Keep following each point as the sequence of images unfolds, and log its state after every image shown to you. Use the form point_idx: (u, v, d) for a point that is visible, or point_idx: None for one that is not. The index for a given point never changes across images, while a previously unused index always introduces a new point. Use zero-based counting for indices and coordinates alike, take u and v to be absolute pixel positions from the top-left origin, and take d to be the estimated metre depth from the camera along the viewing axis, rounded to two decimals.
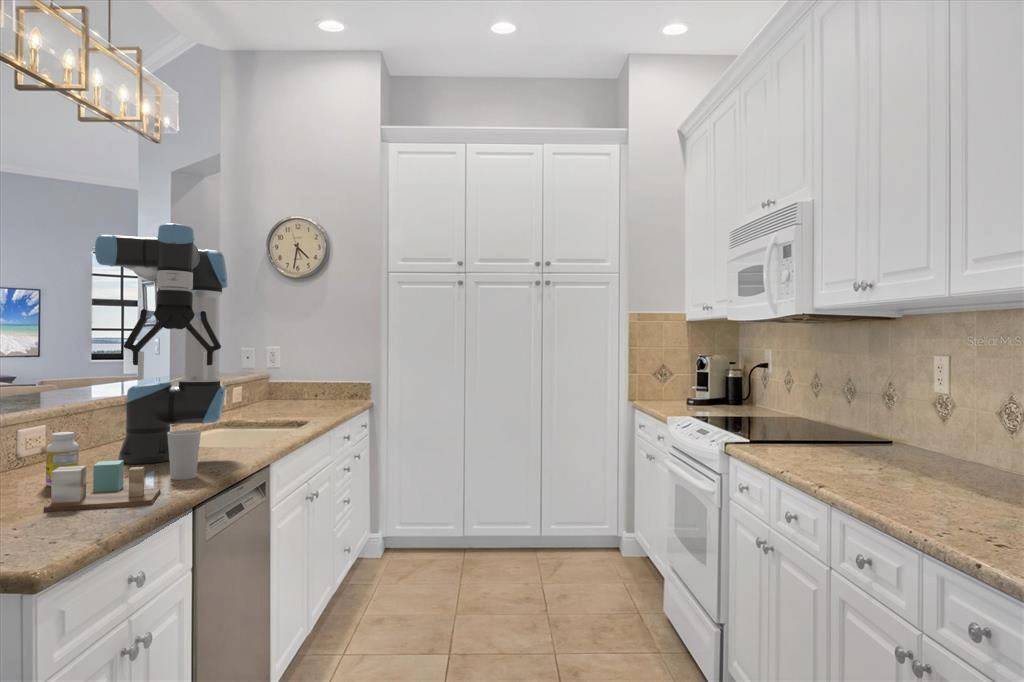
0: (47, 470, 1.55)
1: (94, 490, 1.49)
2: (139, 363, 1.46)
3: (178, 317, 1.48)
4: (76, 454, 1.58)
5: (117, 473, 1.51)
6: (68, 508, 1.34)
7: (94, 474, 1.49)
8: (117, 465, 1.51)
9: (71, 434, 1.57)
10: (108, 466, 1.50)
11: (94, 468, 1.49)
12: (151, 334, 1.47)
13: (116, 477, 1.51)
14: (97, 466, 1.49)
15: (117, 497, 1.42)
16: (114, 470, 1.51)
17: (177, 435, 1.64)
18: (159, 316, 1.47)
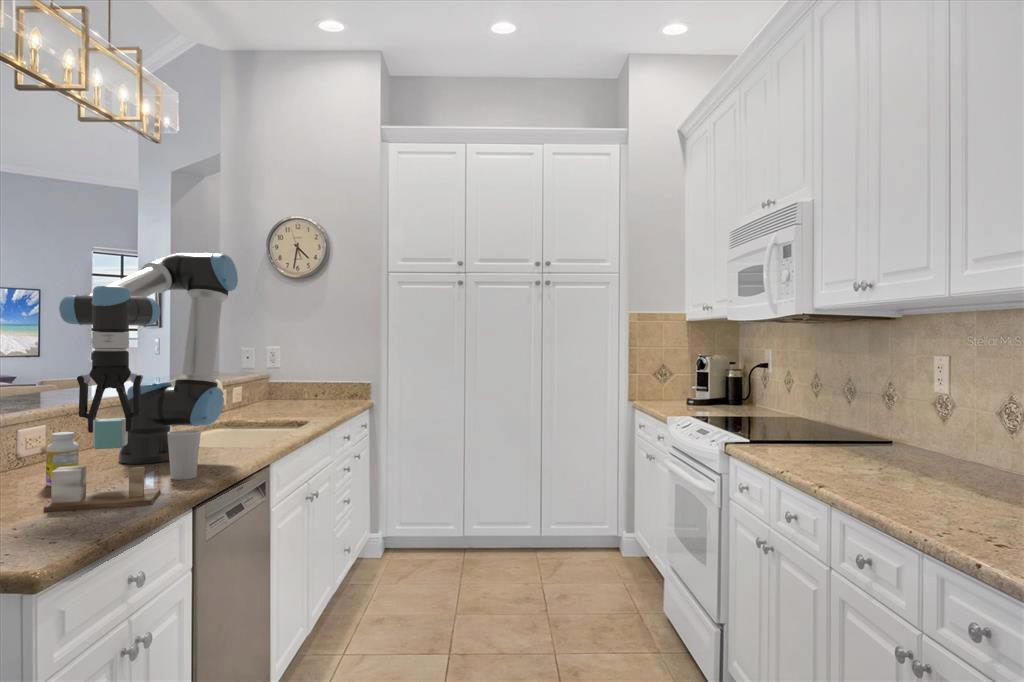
0: (47, 470, 1.55)
1: (96, 446, 1.49)
2: (94, 431, 1.50)
3: (113, 377, 1.51)
4: (76, 454, 1.58)
5: (119, 429, 1.51)
6: (68, 508, 1.34)
7: (96, 430, 1.49)
8: (119, 421, 1.51)
9: (71, 434, 1.57)
10: (110, 422, 1.50)
11: (96, 424, 1.49)
12: (97, 398, 1.51)
13: (118, 433, 1.51)
14: (99, 422, 1.50)
15: (117, 497, 1.42)
16: (115, 426, 1.51)
17: (177, 435, 1.64)
18: (96, 376, 1.51)
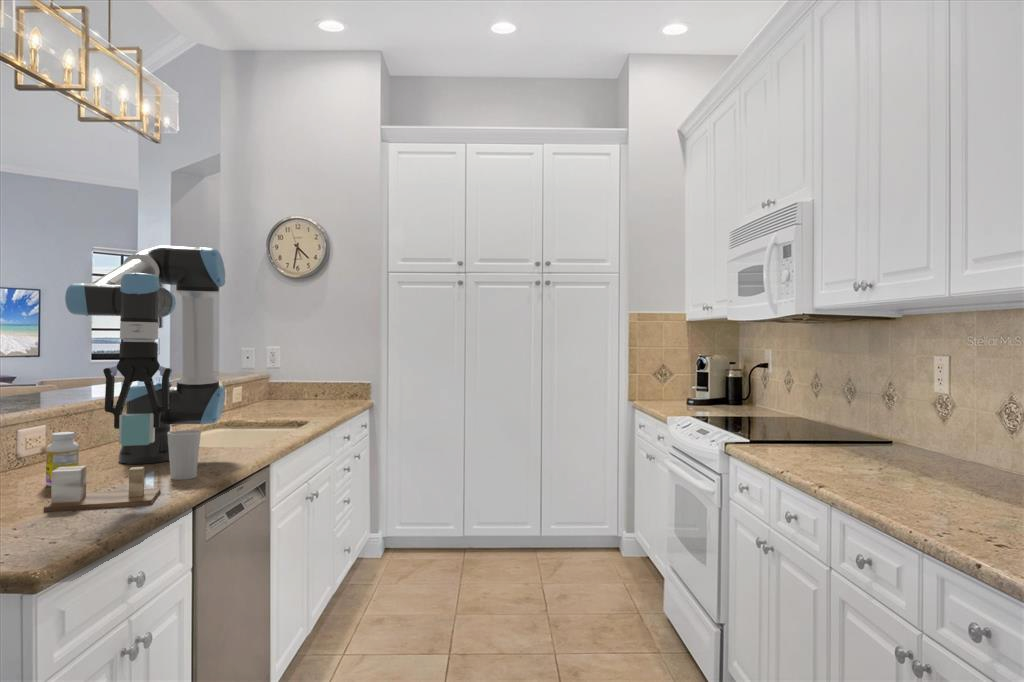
0: (47, 470, 1.55)
1: (122, 442, 1.41)
2: (120, 427, 1.42)
3: (142, 369, 1.43)
4: (76, 454, 1.58)
5: (147, 425, 1.42)
6: (68, 508, 1.34)
7: (122, 425, 1.41)
8: (147, 416, 1.42)
9: (71, 434, 1.57)
10: (137, 417, 1.42)
11: (123, 419, 1.41)
12: (124, 392, 1.42)
13: (145, 429, 1.42)
14: (126, 417, 1.41)
15: (117, 497, 1.42)
16: (143, 421, 1.42)
17: (177, 435, 1.64)
18: (123, 368, 1.42)
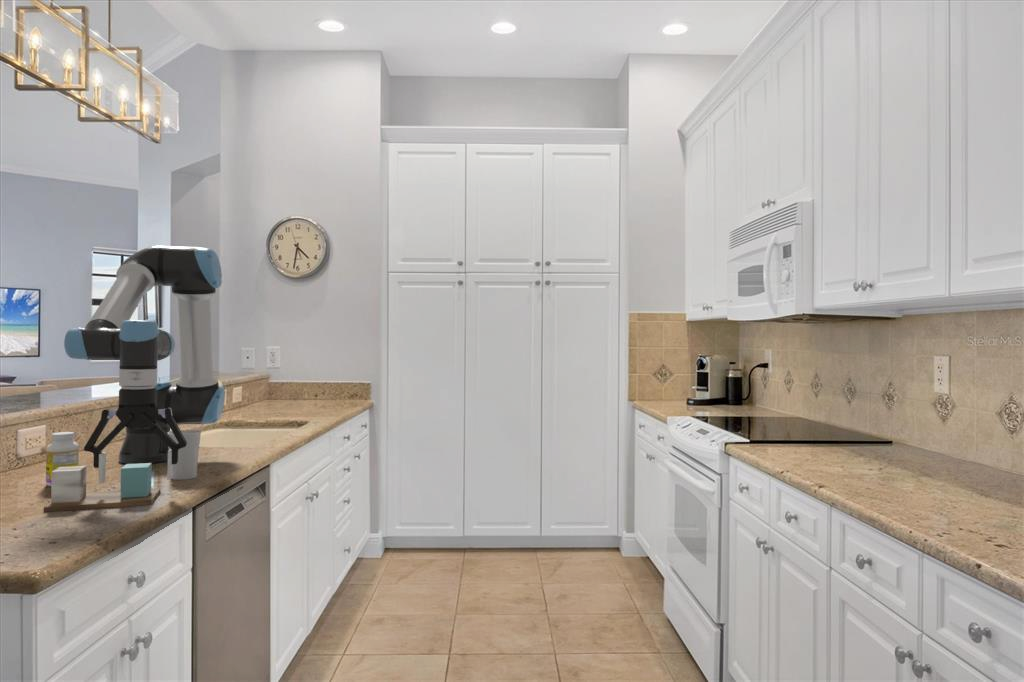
0: (47, 470, 1.55)
1: (122, 495, 1.41)
2: (100, 466, 1.40)
3: (141, 416, 1.43)
4: (76, 454, 1.58)
5: (146, 477, 1.42)
6: (68, 508, 1.34)
7: (122, 478, 1.41)
8: (146, 468, 1.42)
9: (71, 434, 1.57)
10: (136, 469, 1.42)
11: (122, 471, 1.41)
12: (113, 435, 1.41)
13: (145, 481, 1.42)
14: (125, 469, 1.41)
15: (117, 497, 1.42)
16: (142, 473, 1.42)
17: None
18: (121, 416, 1.42)
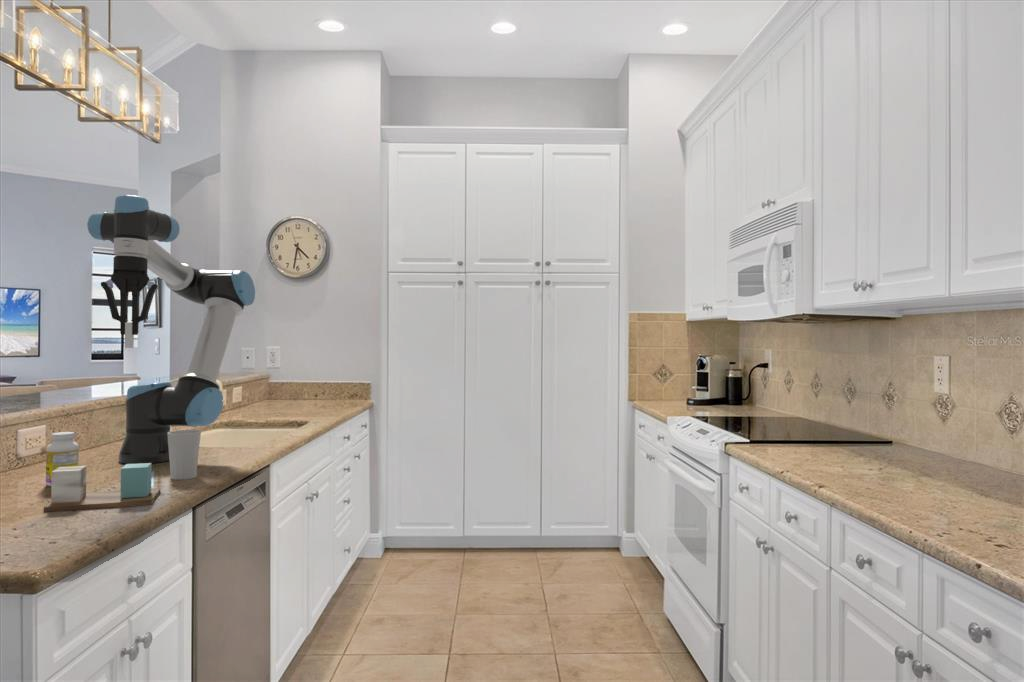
0: (47, 470, 1.55)
1: (122, 495, 1.41)
2: (126, 333, 1.61)
3: (133, 280, 1.61)
4: (76, 454, 1.58)
5: (146, 477, 1.42)
6: (68, 508, 1.34)
7: (122, 478, 1.41)
8: (146, 468, 1.42)
9: (71, 434, 1.57)
10: (136, 469, 1.42)
11: (122, 471, 1.41)
12: (124, 301, 1.61)
13: (145, 481, 1.42)
14: (125, 469, 1.41)
15: (117, 497, 1.42)
16: (142, 473, 1.42)
17: (177, 435, 1.64)
18: (117, 279, 1.61)
